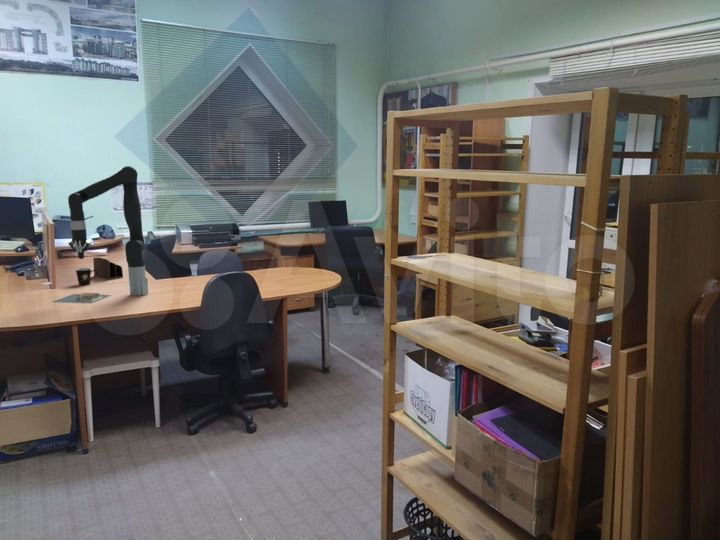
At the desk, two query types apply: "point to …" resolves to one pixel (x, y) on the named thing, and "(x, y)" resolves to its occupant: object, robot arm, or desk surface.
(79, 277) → the coffee mug
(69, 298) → the rubber mat
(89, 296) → the birch tile
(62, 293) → the desk surface
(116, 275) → the letter holder
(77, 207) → the robot arm
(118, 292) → the desk surface
